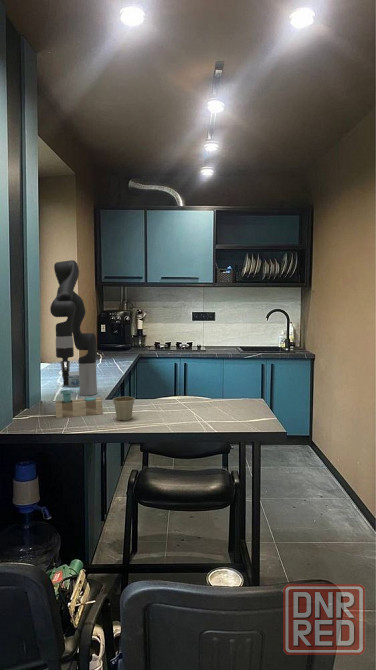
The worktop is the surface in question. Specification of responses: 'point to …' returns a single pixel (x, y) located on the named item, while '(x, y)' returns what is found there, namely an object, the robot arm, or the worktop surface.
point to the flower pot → (124, 407)
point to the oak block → (78, 408)
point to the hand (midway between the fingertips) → (66, 385)
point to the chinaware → (73, 379)
